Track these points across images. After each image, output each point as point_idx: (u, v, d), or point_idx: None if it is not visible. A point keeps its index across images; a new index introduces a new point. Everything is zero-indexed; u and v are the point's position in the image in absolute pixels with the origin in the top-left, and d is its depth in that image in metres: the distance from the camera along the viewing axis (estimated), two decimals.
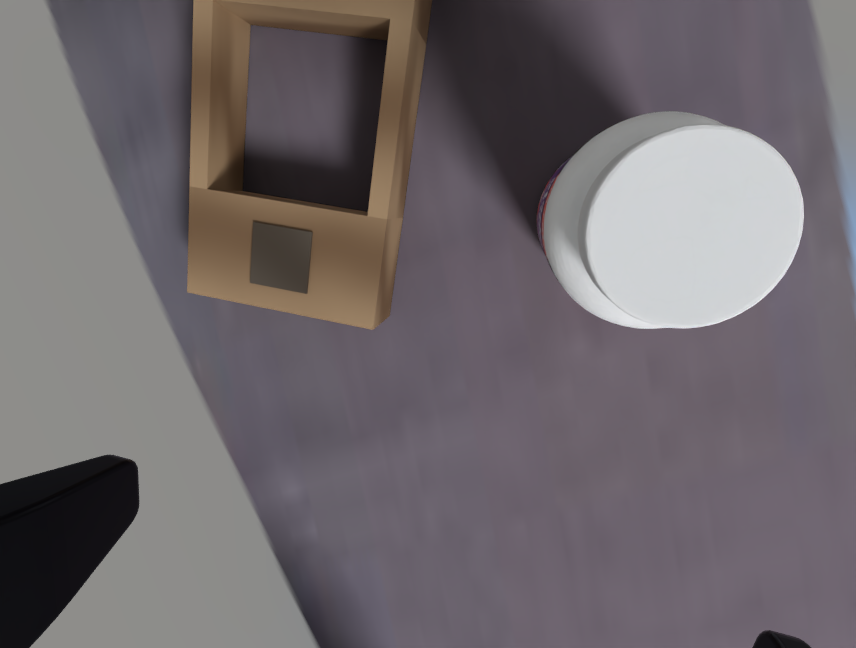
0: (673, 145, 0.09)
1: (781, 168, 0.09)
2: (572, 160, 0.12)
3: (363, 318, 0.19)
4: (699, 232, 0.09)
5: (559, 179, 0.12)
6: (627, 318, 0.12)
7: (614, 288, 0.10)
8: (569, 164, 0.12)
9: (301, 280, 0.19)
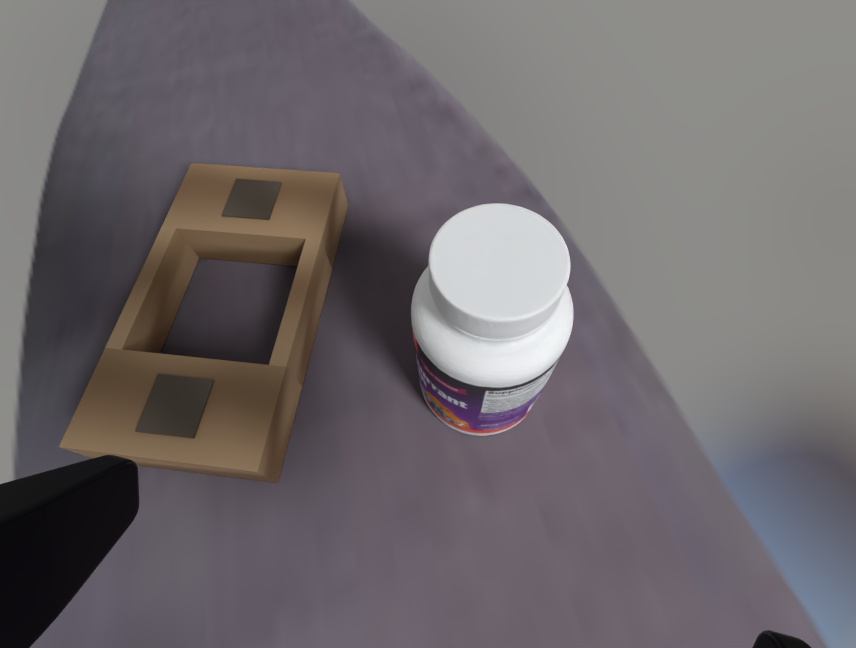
0: (477, 213, 0.14)
1: (543, 222, 0.14)
2: None
3: (249, 460, 0.18)
4: (504, 257, 0.14)
5: None
6: (482, 365, 0.15)
7: (454, 296, 0.13)
8: (424, 270, 0.17)
9: (191, 426, 0.19)
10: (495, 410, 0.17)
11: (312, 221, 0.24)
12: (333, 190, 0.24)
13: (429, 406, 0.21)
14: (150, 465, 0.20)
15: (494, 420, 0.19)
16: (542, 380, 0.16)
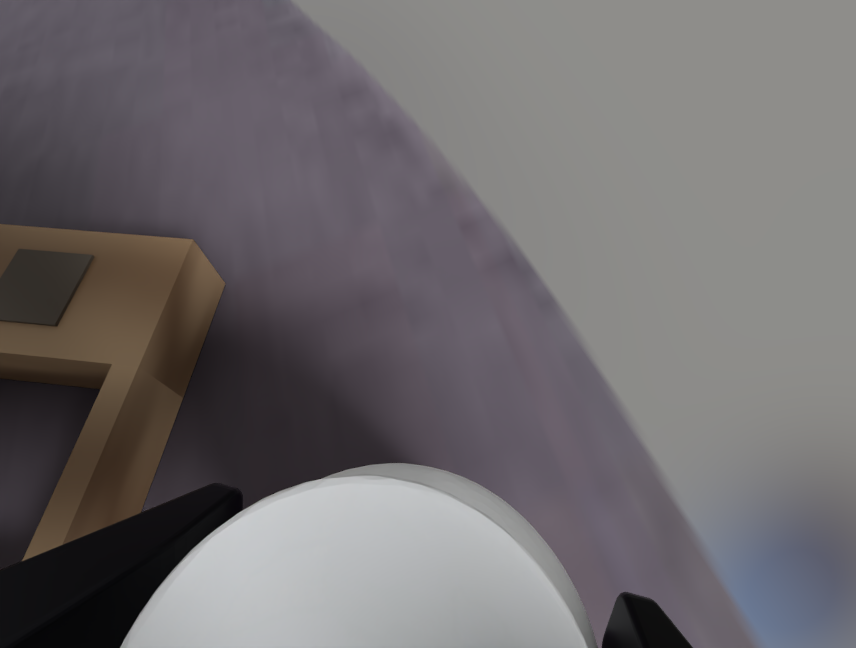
0: (295, 519, 0.04)
1: (519, 566, 0.04)
2: None
3: None
4: None
5: None
6: None
7: None
8: None
9: None
10: None
11: (130, 330, 0.13)
12: (177, 270, 0.14)
13: None
14: None
15: None
16: None
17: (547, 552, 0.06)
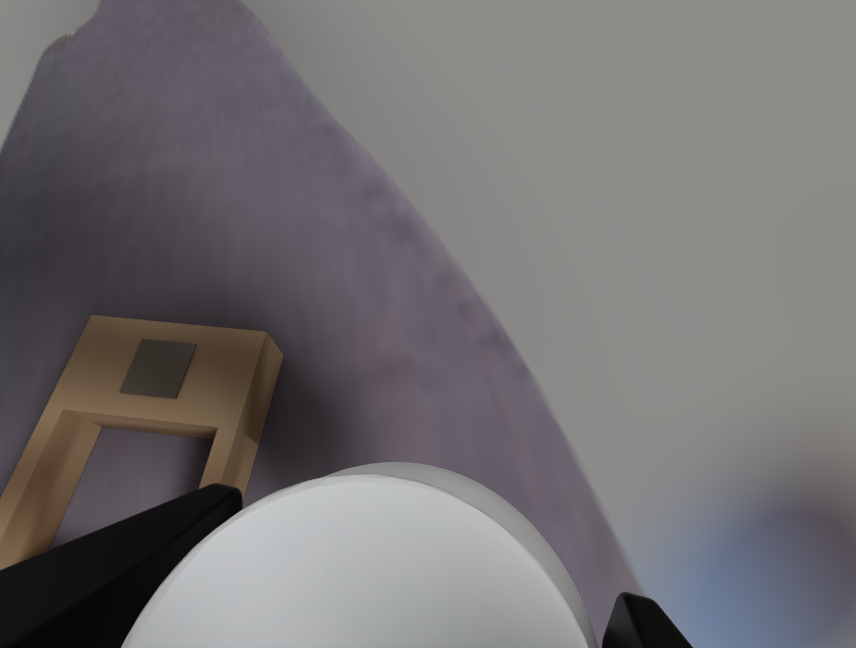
0: (296, 518, 0.04)
1: (519, 563, 0.04)
2: None
3: None
4: None
5: None
6: None
7: None
8: None
9: None
10: None
11: (228, 402, 0.19)
12: (257, 356, 0.20)
13: None
14: None
15: None
16: None
17: (547, 551, 0.06)
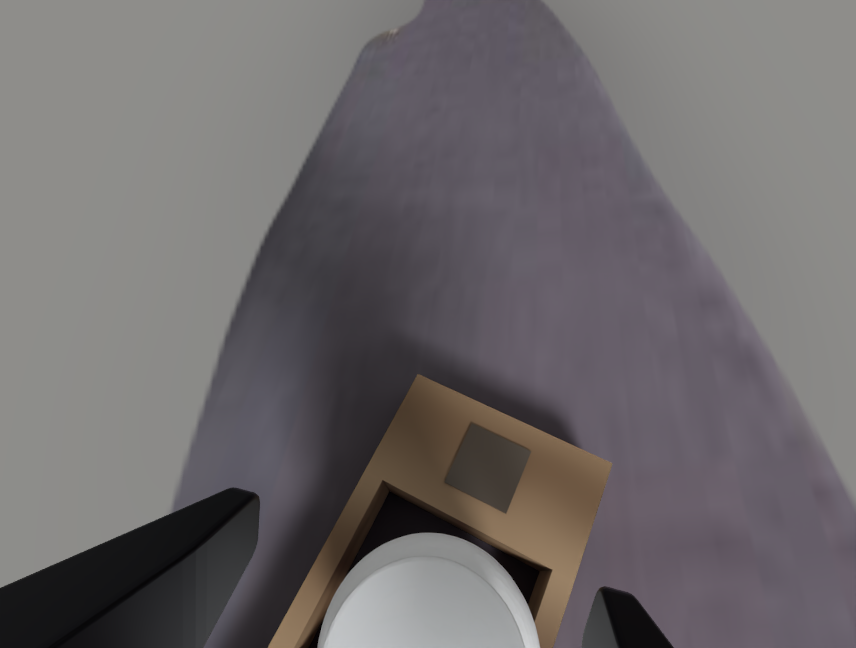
0: (401, 575, 0.10)
1: (496, 603, 0.10)
2: (346, 576, 0.12)
3: None
4: None
5: (333, 596, 0.12)
6: None
7: None
8: (343, 580, 0.12)
9: None
10: None
11: (565, 540, 0.17)
12: (601, 492, 0.17)
13: None
14: None
15: None
16: None
17: (516, 592, 0.12)
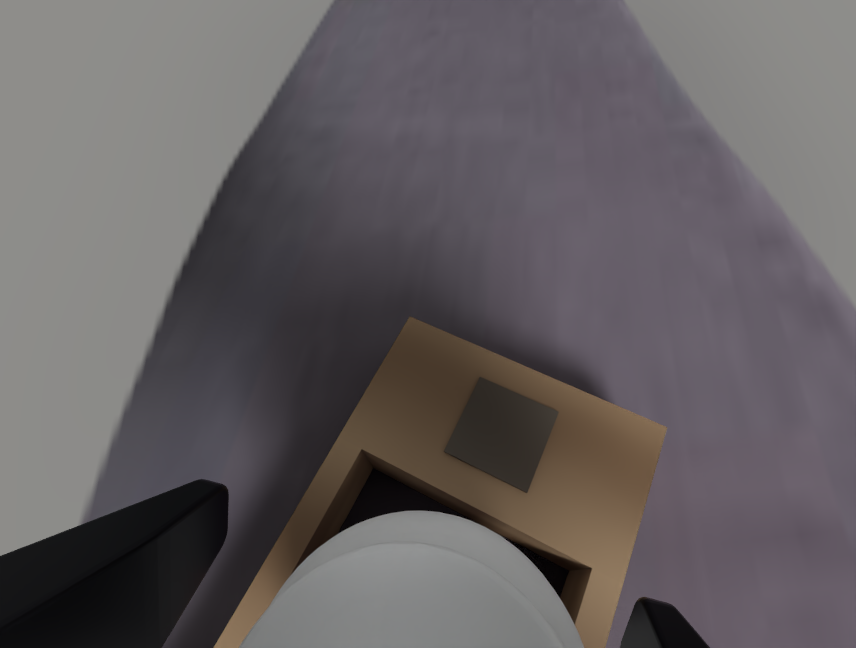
0: (359, 577, 0.05)
1: (535, 626, 0.05)
2: (288, 578, 0.08)
3: None
4: None
5: None
6: None
7: None
8: None
9: None
10: None
11: (608, 528, 0.12)
12: (654, 465, 0.13)
13: None
14: None
15: None
16: None
17: (555, 600, 0.07)
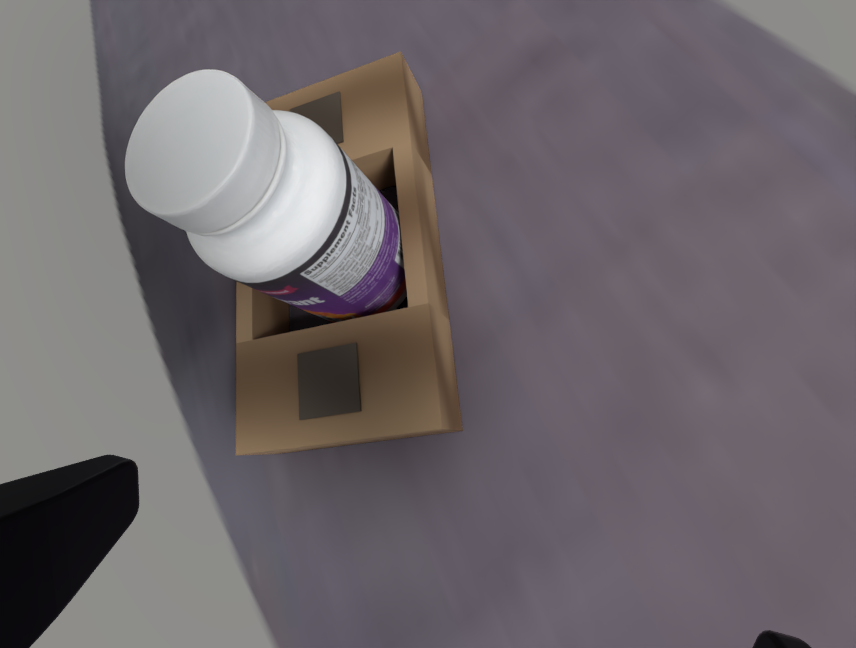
0: (150, 111, 0.13)
1: (210, 73, 0.12)
2: None
3: (428, 418, 0.16)
4: (188, 135, 0.12)
5: None
6: (263, 253, 0.13)
7: (160, 205, 0.12)
8: None
9: (353, 398, 0.17)
10: (349, 286, 0.16)
11: (392, 123, 0.19)
12: (401, 75, 0.19)
13: None
14: (326, 447, 0.19)
15: (367, 295, 0.17)
16: (356, 229, 0.15)
17: None
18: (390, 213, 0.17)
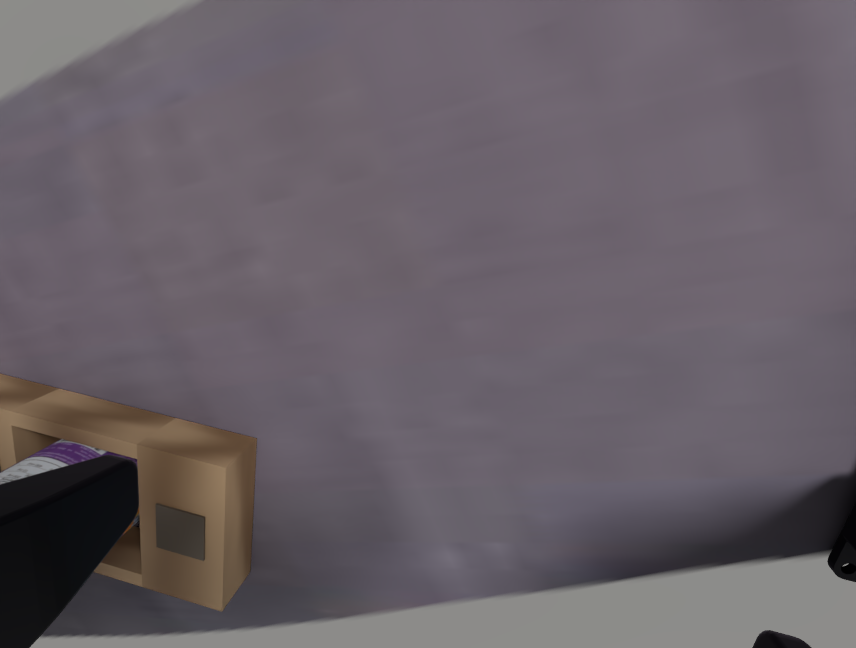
0: None
1: None
2: None
3: (217, 474, 0.21)
4: None
5: None
6: None
7: None
8: None
9: (196, 519, 0.22)
10: None
11: None
12: None
13: None
14: (247, 537, 0.24)
15: None
16: None
17: None
18: (58, 449, 0.21)
